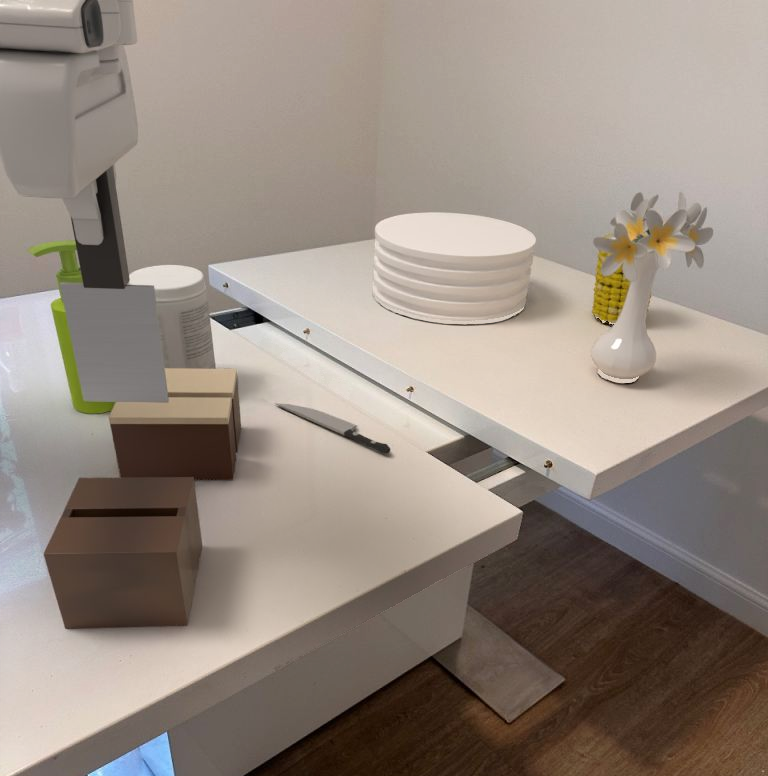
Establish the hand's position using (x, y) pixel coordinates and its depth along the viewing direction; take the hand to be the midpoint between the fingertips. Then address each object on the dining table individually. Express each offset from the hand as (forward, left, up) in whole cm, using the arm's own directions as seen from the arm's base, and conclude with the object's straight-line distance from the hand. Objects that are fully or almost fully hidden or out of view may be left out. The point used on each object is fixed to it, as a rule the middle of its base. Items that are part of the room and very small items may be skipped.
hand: (98, 235), depth 53 cm
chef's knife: (+19, +23, -29) cm, 41 cm away
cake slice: (+1, +13, -29) cm, 31 cm away
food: (+69, +62, -29) cm, 97 cm away
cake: (+1, +19, -29) cm, 35 cm away
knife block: (0, -6, -29) cm, 29 cm away
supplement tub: (-2, +35, -29) cm, 45 cm away
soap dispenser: (-12, +29, -29) cm, 42 cm away
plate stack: (+41, +72, -29) cm, 87 cm away
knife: (0, 0, -14) cm, 14 cm away
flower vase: (+61, +38, -29) cm, 77 cm away
